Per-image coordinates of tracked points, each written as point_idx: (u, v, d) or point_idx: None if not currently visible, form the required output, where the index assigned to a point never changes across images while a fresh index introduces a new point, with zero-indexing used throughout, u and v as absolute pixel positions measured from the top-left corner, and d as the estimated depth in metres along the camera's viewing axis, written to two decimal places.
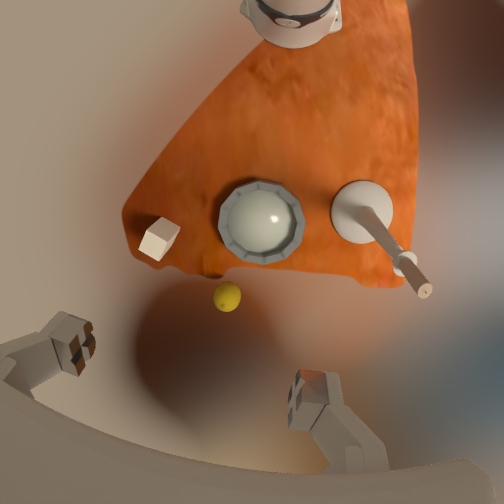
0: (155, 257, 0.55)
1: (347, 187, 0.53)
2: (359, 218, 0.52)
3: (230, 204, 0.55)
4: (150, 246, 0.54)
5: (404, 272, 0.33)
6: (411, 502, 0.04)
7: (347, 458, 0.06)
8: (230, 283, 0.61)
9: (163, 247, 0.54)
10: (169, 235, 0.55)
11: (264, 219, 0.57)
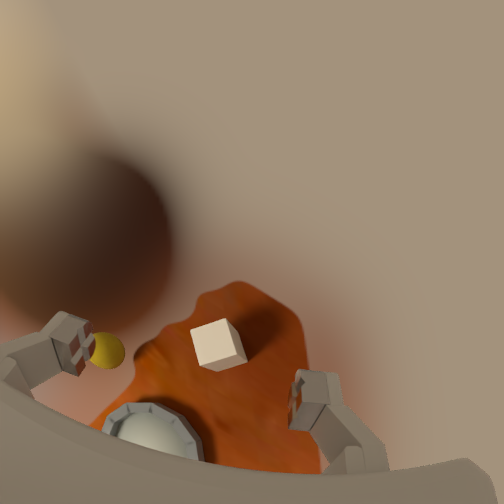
0: (197, 330, 0.35)
1: None
2: None
3: (188, 451, 0.32)
4: (214, 338, 0.34)
5: None
6: (411, 502, 0.04)
7: (347, 458, 0.06)
8: (115, 367, 0.39)
9: (198, 353, 0.33)
10: (209, 366, 0.35)
11: None
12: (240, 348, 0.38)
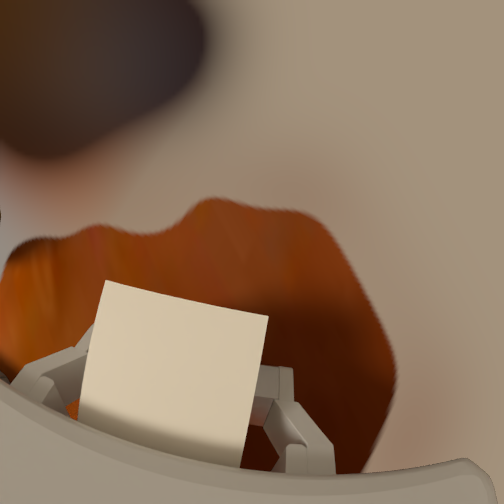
0: (130, 301, 0.08)
1: None
2: None
3: None
4: (178, 371, 0.07)
5: None
6: (411, 502, 0.04)
7: (288, 456, 0.06)
8: None
9: (90, 391, 0.07)
10: None
11: None
12: None
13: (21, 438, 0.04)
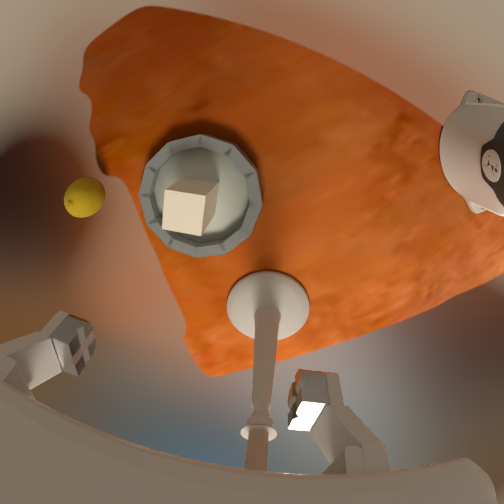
0: (165, 222, 0.32)
1: (291, 281, 0.43)
2: (262, 315, 0.42)
3: (208, 146, 0.35)
4: (179, 209, 0.32)
5: (253, 447, 0.23)
6: (411, 502, 0.04)
7: (347, 458, 0.06)
8: (103, 192, 0.37)
9: (188, 231, 0.33)
10: (206, 224, 0.35)
11: None
12: (202, 184, 0.35)
13: (21, 438, 0.04)
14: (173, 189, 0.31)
